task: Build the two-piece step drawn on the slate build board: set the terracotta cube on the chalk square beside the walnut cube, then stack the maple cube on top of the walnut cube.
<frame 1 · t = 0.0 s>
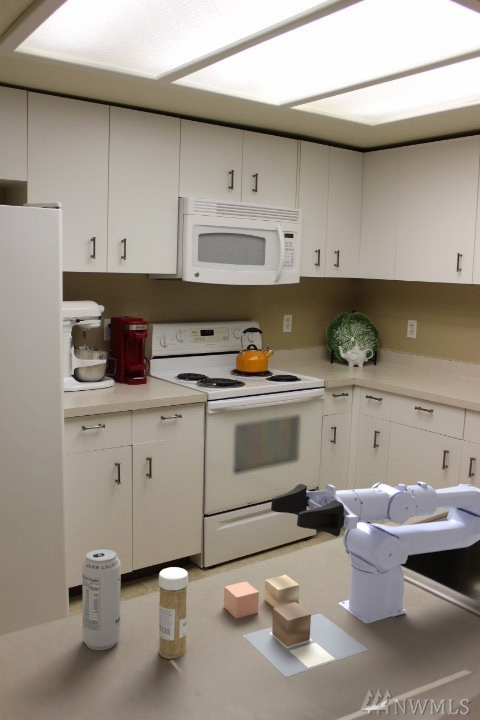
hand: (285, 512, 109), 22 cm above the countertop, tool horizontal, fingers open, 7 cm apart
walnut block: (290, 636, 111), point 1 cm above the countertop, touching build board
terracotta block: (240, 612, 120), on the countertop
sprinkles bottle: (172, 653, 107), on the countertop
maple block: (281, 605, 123), on the countertop
build board: (304, 645, 110), on the countertop
energy drink can: (101, 643, 109), on the countertop
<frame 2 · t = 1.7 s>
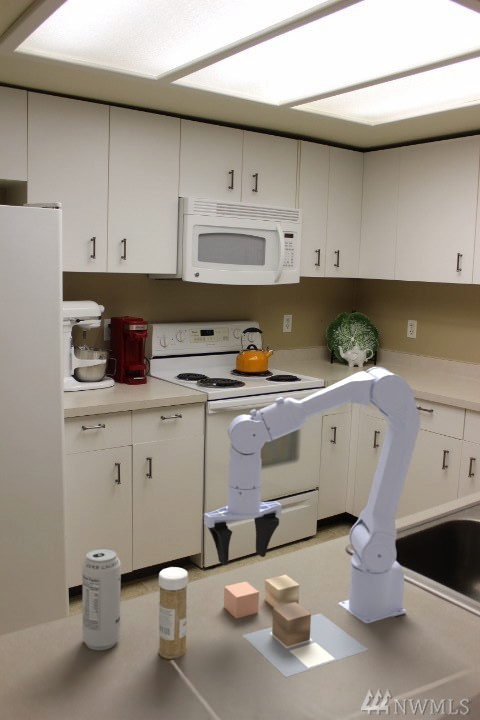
hand: (242, 558, 118), 10 cm above the countertop, tool pointing down, fingers open, 7 cm apart
nothing on the countertop moved.
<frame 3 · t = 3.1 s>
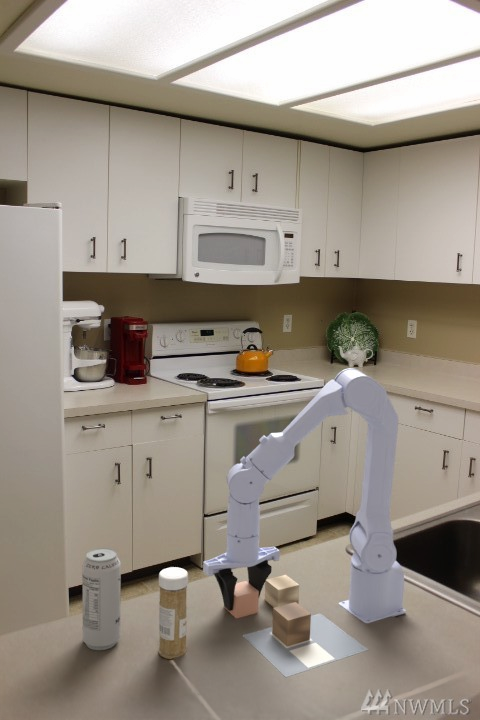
hand: (240, 604, 120), 1 cm above the countertop, tool pointing down, fingers closed on terracotta block, 4 cm apart
terracotta block: (240, 612, 120), on the countertop, touching gripper
everything else where it was.
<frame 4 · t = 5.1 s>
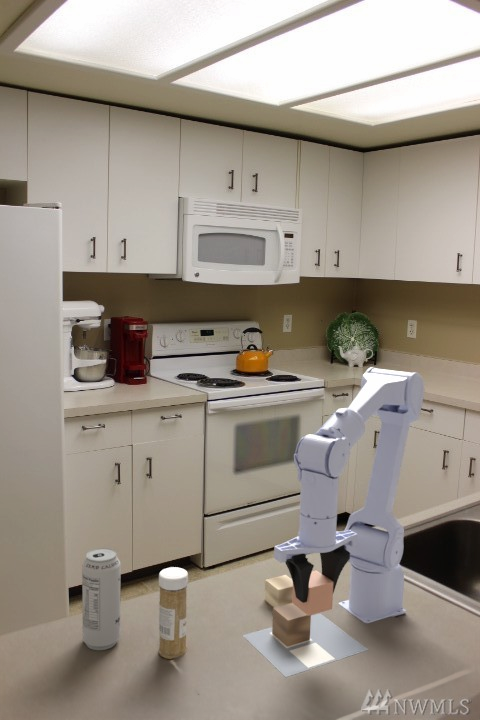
hand: (314, 596, 105), 10 cm above the countertop, tool pointing down, fingers closed on terracotta block, 4 cm apart
terracotta block: (311, 605, 106), point 8 cm above the countertop, touching gripper
everything else where it was.
when the fingers open (3 cm above the countertop, at t = 7.0 s): terracotta block stays where it is, resting on build board.
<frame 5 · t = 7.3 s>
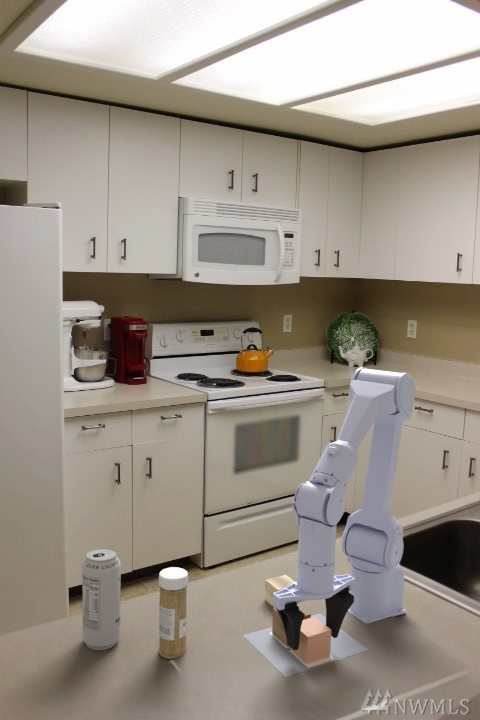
hand: (312, 640, 106), 3 cm above the countertop, tool pointing down, fingers open, 7 cm apart
terracotta block: (310, 653, 107), point 1 cm above the countertop, touching build board
everything else where it was.
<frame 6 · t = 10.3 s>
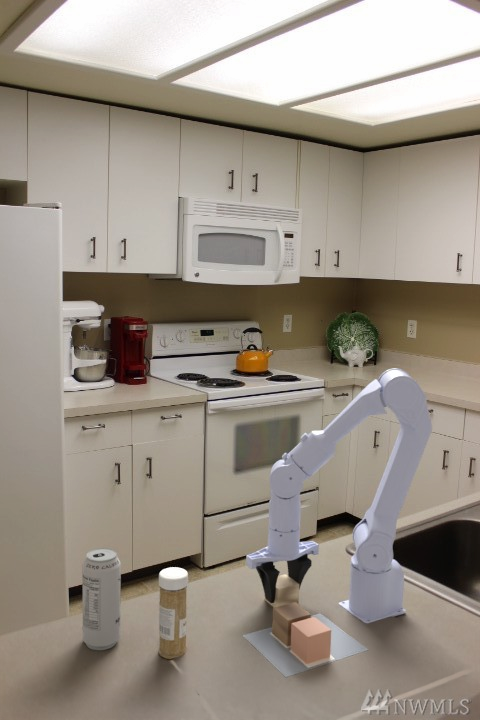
hand: (281, 597, 123), 1 cm above the countertop, tool pointing down, fingers closed on maple block, 4 cm apart
maple block: (281, 604, 123), on the countertop, touching gripper
everything else where it was.
when the fingers open (7 cm above the countertop, at t = 13.2 s): maple block stays where it is, resting on walnut block.
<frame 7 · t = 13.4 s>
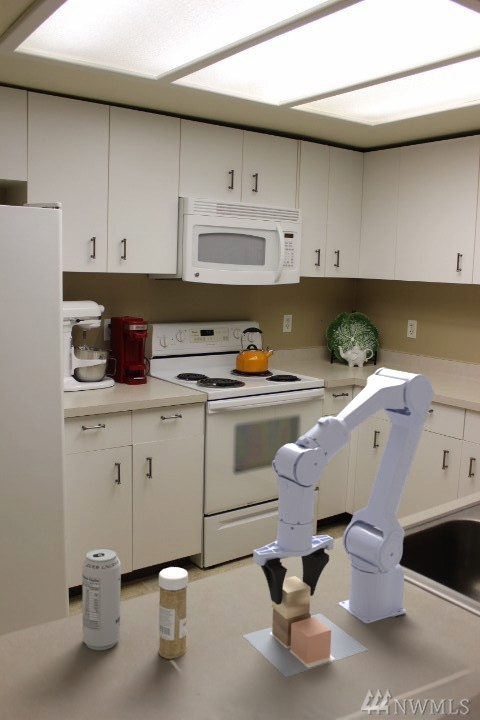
hand: (292, 597, 110), 7 cm above the countertop, tool pointing down, fingers open, 6 cm apart
walnut block: (290, 636, 111), point 1 cm above the countertop, touching build board, maple block
maple block: (290, 609, 111), point 5 cm above the countertop, touching walnut block
everything else where it was.
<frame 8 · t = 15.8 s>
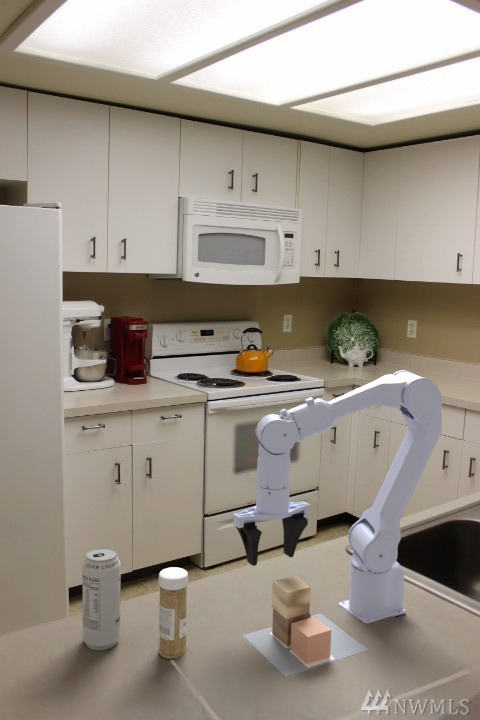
hand: (270, 559, 118), 10 cm above the countertop, tool pointing down, fingers open, 7 cm apart
nothing on the countertop moved.
at the end: maple block 0.4 cm off-centre on the walnut block, point 4.5 cm above the walnut block's base; maple block tilted 0°; terracotta block 0.5 cm from the target spot, point 0.5 cm above the countertop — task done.
